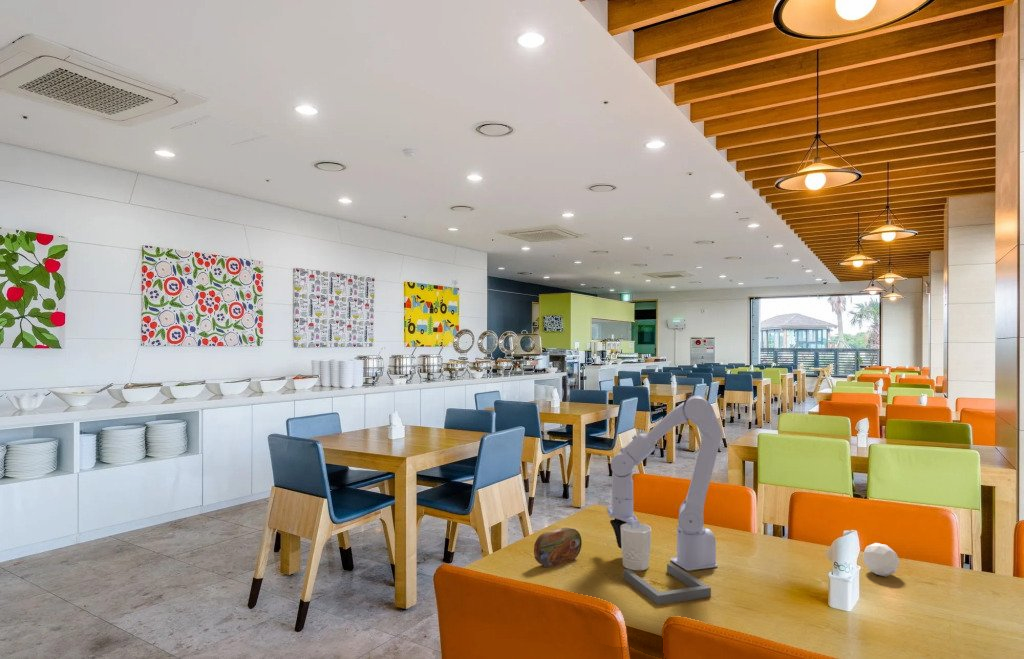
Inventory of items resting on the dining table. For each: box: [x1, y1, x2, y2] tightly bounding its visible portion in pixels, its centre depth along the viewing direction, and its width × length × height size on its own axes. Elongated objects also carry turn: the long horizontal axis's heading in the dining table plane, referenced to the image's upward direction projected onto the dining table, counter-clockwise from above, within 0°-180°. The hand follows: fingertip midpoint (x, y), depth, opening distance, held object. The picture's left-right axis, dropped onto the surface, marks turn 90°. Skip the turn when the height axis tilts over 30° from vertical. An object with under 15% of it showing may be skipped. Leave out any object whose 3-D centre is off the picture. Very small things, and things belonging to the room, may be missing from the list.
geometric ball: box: [862, 542, 900, 577], centre depth 145 cm, size 8×8×8 cm
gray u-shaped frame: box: [622, 562, 712, 606], centre depth 137 cm, size 14×16×2 cm
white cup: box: [620, 522, 652, 571], centre depth 150 cm, size 8×8×10 cm
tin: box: [533, 527, 583, 568], centre depth 152 cm, size 15×3×8 cm, turn 126°
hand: (622, 547), depth 157 cm, fingers closed
